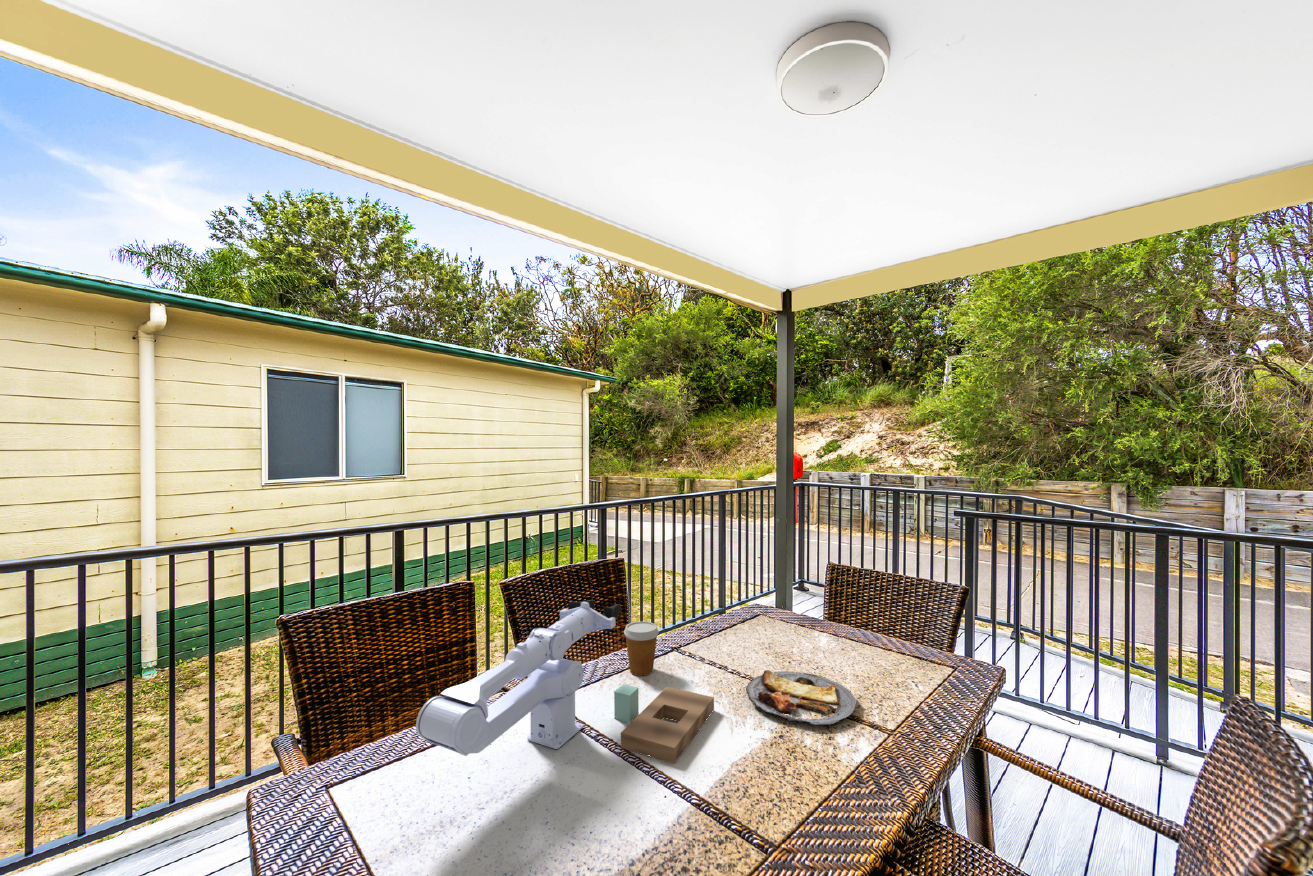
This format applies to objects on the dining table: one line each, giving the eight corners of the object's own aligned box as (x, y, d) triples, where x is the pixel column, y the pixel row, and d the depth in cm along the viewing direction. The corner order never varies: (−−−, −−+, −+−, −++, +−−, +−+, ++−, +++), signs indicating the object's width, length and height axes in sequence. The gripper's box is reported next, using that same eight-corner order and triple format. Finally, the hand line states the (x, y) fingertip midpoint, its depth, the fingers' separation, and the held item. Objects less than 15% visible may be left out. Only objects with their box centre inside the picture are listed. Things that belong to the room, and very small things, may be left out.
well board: (674, 763, 96) (674, 748, 96) (620, 747, 102) (620, 732, 102) (714, 710, 116) (713, 697, 116) (667, 699, 121) (667, 686, 121)
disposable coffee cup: (644, 682, 130) (644, 635, 131) (616, 672, 136) (616, 628, 136) (665, 669, 138) (665, 625, 138) (639, 660, 144) (638, 618, 144)
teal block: (629, 722, 111) (629, 695, 111) (614, 718, 113) (614, 691, 113) (638, 714, 115) (638, 687, 115) (623, 710, 116) (623, 684, 117)
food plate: (733, 711, 116) (733, 695, 116) (761, 672, 136) (762, 659, 136) (848, 743, 104) (848, 725, 104) (860, 695, 124) (860, 681, 125)
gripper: (599, 614, 110) (630, 594, 122) (547, 605, 116) (581, 586, 128) (601, 646, 110) (631, 622, 122) (548, 635, 116) (582, 613, 129)
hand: (606, 606), depth 125 cm, fingers open, 7 cm apart
